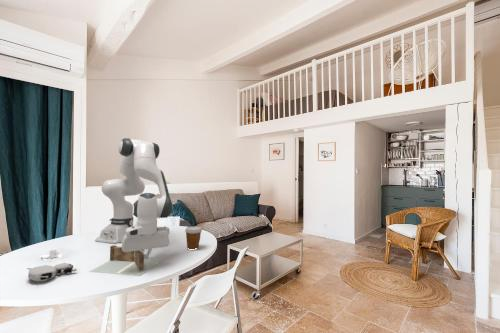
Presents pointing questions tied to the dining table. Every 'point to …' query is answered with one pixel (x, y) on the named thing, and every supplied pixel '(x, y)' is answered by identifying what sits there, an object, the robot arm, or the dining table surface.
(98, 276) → the dining table surface
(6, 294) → the dining table surface
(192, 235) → the disposable coffee cup
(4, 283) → the dining table surface
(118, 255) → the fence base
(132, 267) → the card
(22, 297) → the dining table surface
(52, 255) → the teacup and saucer
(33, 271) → the robot toy
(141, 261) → the hinged fence panel
